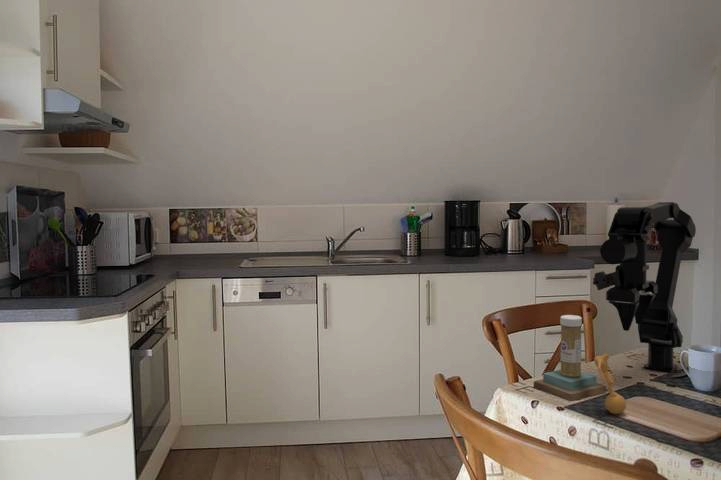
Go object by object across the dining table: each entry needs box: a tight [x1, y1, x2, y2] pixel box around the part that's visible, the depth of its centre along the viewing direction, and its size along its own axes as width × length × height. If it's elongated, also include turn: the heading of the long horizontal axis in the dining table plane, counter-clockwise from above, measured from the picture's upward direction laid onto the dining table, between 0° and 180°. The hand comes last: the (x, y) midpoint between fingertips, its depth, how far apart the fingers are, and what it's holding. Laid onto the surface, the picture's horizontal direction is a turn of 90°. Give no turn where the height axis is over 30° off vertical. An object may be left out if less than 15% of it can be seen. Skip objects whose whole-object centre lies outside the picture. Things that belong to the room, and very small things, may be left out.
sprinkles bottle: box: [559, 314, 583, 377], centre depth 133 cm, size 5×5×14 cm
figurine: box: [593, 353, 627, 415], centre depth 119 cm, size 8×6×12 cm
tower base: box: [533, 369, 607, 402], centre depth 134 cm, size 11×11×4 cm
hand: (632, 327), depth 138 cm, fingers open, 9 cm apart
